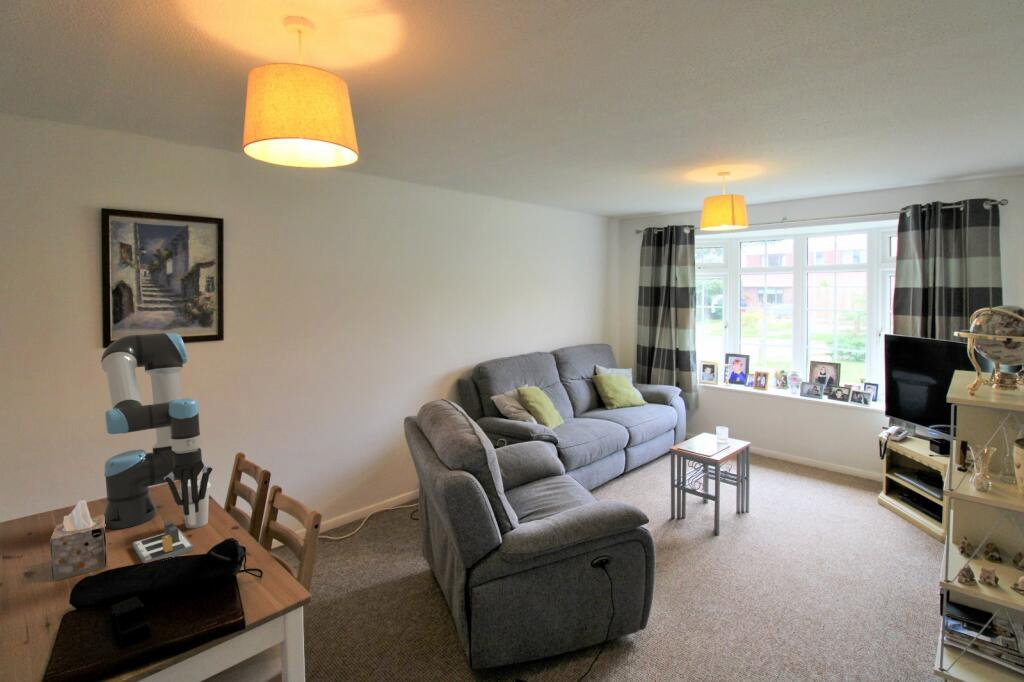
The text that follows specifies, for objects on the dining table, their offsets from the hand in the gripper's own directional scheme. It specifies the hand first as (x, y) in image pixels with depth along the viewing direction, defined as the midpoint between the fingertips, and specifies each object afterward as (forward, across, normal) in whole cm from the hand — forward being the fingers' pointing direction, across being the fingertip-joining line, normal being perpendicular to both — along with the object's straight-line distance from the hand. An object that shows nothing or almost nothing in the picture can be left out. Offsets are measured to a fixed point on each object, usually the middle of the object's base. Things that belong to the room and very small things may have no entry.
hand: (192, 523), depth 158 cm
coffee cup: (+8, +6, +18) cm, 20 cm away
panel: (+8, -7, +7) cm, 12 cm away
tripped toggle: (+6, -7, +1) cm, 9 cm away
